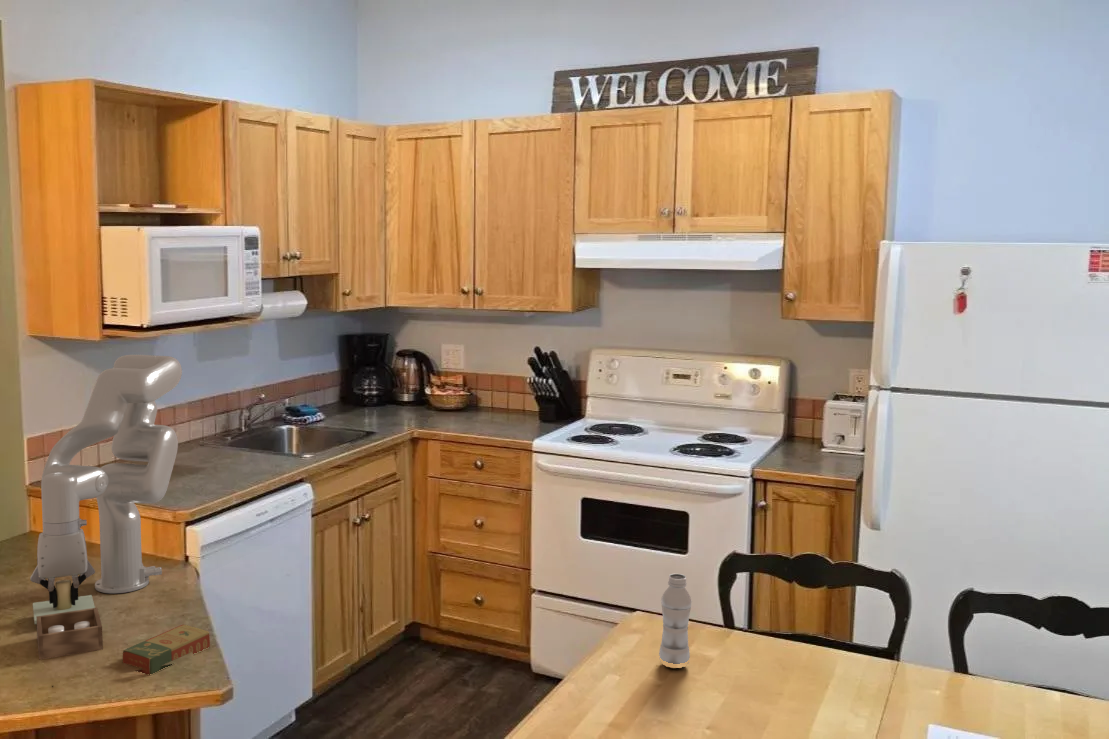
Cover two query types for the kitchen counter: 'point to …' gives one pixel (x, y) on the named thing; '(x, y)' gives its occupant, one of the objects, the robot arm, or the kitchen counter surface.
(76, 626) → the shaker
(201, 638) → the carton
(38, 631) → the tea box
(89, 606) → the lid
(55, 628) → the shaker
